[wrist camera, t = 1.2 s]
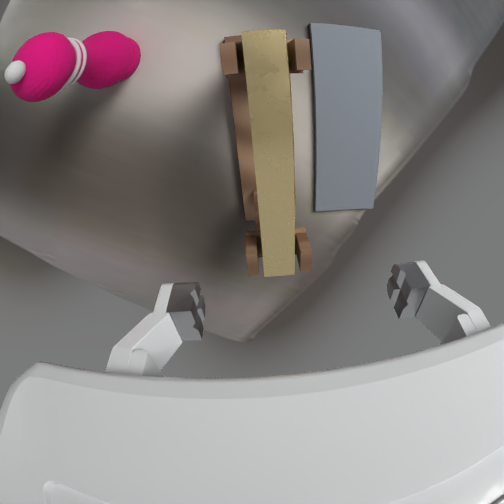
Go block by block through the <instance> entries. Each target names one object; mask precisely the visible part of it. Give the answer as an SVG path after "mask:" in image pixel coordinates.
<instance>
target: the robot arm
mask: <svg viewBox="0 0 504 504" xmlns="http://www.w3.org/2000/svg"><path fill="white" fill-rule="evenodd" d="M391 272H392V274H393V275H392V277H391V278H390V279H389V280H388V284H387V291H388V295H389V298H390V300H391V301H392V302H394V303H395V306H394V309H395V311H396V313H397V315H398V318H399V319H403V318H409V317H415V318H416V319H417V320H419V321H420V322H421V323H422V324H423V325H424V326H426V328H427V329H429V330H430V331H431V332H432V333H433V334H434V335H435V336H436V337H437V338H438V339H440V340H441V341H442V342H441V343H440V345H438V346H435V347H431V348H428V349H424V350H420V351H416V352H413V353H409V354H404V355H400V356H397V357H392V358H388V359H383V360H378V361H373V362H368V363H363V364H358V365H352V366H346V367H340V368H333V369H326V370H319V371H311V372H303V373H293V374H283V375H271V376H256V377H235V378H172V377H164V376H163V374H162V373H161V372H160V371H161V370H162V368H163V367H164V366H165V364H166V363H167V362H168V360H169V359H170V358H171V357H172V355H173V354H174V353H175V351H176V350H177V349H178V347H179V346H180V345H181V344H182V341H194V340H202V336H203V329H204V327H203V324H202V321H203V320H204V319H205V302H204V298H203V296H201V295H200V290H201V288H200V285H199V283H198V282H188V283H168V284H162V285H161V287H160V291H159V294H158V297H157V301H156V304H155V307H154V311H153V313H150V314H148V315H147V316H146V317H145V318H144V319H143V320H142V321H141V322H140V323H139V324H138V325H137V326H135V327H134V328H133V329H132V330H131V331H130V332H129V333H128V334H127V335H126V336H125V337H123V339H121V340H120V341H119V342H118V343H117V344H116V345H115V346H114V347H113V349H112V352H111V355H110V358H109V361H108V364H107V367H106V371H105V372H100V371H93V370H86V369H80V368H74V367H68V366H62V365H57V364H52V363H48V362H42V361H41V362H37V363H35V364H33V365H32V366H31V367H29V368H28V369H27V370H26V371H25V372H23V373H22V374H21V375H20V376H19V377H18V378H17V379H16V380H15V381H14V382H13V383H12V385H11V387H10V389H9V391H8V393H7V395H6V397H5V400H4V402H3V405H2V408H1V411H0V504H504V323H502V324H499V325H496V326H494V327H491V326H490V324H489V323H488V321H487V319H486V317H485V316H484V314H483V312H482V311H481V309H480V308H479V307H477V306H476V305H474V304H473V303H471V302H470V301H468V300H467V299H465V298H464V297H462V296H461V295H459V294H458V293H456V292H455V291H453V290H451V289H450V288H448V287H446V286H445V285H443V284H441V285H440V283H439V282H438V280H437V278H436V277H435V275H434V274H433V272H432V271H431V269H430V268H429V266H428V265H427V263H426V262H425V261H423V260H422V261H415V262H408V263H400V264H394V265H393V267H392V270H391Z"/></svg>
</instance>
